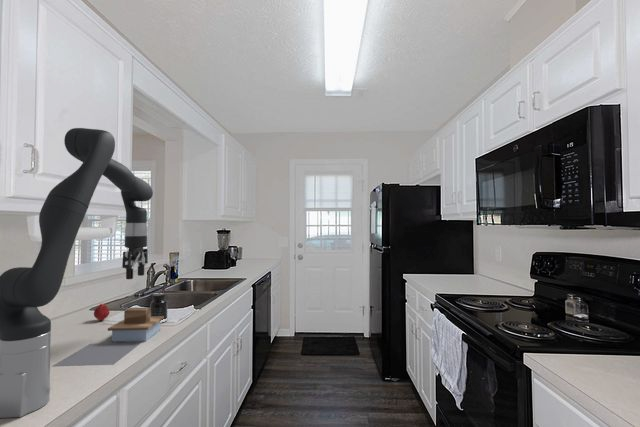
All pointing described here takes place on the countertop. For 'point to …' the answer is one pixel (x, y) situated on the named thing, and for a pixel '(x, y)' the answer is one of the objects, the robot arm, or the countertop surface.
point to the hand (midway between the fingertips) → (135, 277)
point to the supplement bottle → (158, 306)
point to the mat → (98, 354)
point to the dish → (135, 334)
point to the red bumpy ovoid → (101, 312)
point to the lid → (136, 320)
